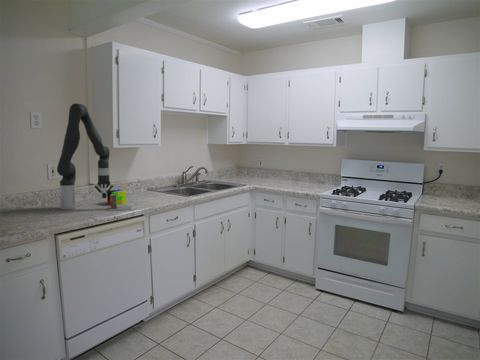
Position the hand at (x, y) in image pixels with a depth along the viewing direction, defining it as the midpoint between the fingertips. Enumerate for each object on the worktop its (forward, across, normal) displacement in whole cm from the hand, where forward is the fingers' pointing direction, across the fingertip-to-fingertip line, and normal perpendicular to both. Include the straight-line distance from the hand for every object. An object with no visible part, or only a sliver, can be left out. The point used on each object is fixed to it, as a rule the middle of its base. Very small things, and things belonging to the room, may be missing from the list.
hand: (104, 198), depth 234 cm
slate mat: (+8, +10, 0) cm, 13 cm away
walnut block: (+8, +6, 0) cm, 10 cm away
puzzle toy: (+8, +7, +18) cm, 21 cm away
